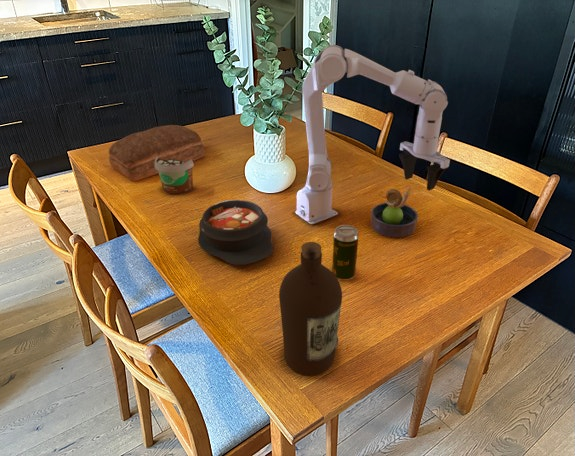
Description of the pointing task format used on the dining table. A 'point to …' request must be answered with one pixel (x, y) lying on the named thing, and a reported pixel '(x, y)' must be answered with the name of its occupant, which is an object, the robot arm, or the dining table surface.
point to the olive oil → (310, 313)
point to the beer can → (345, 252)
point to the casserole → (235, 232)
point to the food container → (175, 175)
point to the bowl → (395, 231)
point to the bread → (154, 150)
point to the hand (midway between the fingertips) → (419, 183)
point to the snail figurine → (394, 206)
